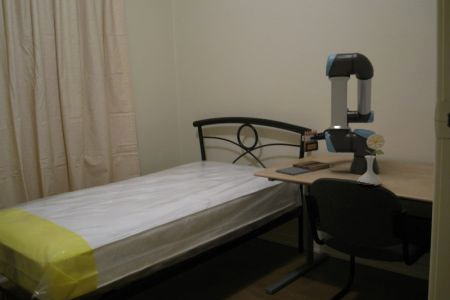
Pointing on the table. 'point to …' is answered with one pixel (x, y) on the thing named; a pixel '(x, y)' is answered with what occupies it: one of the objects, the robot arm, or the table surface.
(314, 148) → the ammunition clip
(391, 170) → the table surface
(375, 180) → the flower in vase
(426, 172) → the table surface
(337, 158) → the table surface
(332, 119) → the robot arm
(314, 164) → the walnut caddy
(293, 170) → the slate mat
